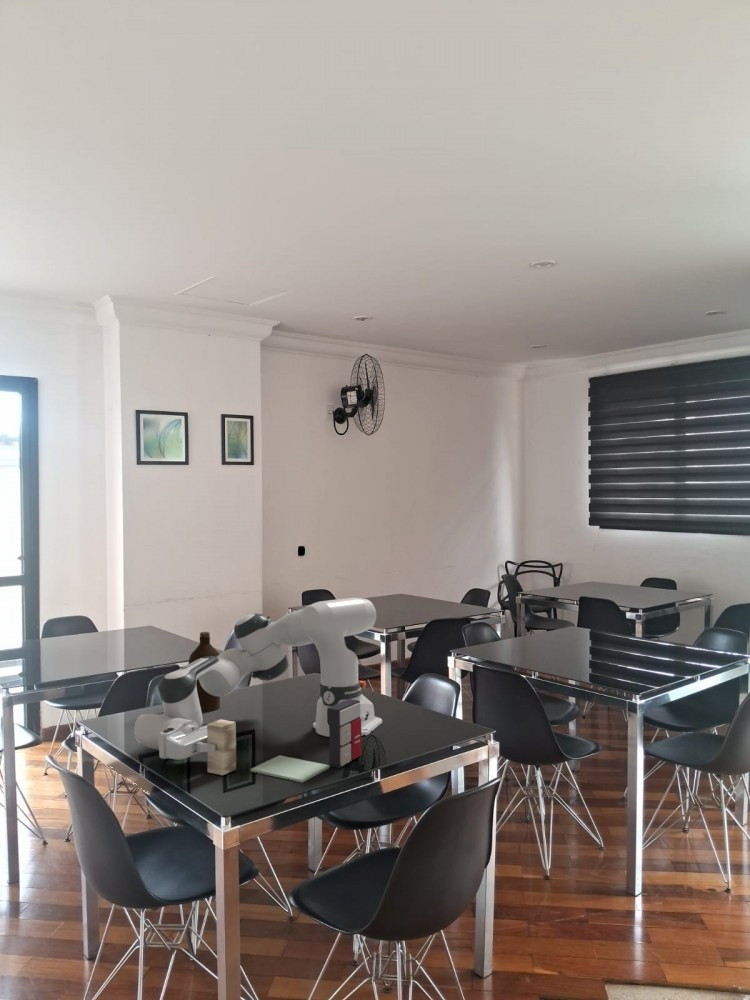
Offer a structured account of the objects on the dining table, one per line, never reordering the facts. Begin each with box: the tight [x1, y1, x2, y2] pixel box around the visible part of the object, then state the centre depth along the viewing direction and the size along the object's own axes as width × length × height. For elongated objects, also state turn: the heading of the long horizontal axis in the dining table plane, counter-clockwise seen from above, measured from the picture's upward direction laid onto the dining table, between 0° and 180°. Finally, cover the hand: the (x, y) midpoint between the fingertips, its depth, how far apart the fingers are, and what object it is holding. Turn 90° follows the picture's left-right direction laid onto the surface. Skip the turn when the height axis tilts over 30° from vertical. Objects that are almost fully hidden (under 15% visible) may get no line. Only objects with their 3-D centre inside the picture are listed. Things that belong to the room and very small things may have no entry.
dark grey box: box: [327, 699, 362, 769], centre depth 204 cm, size 11×4×15 cm, turn 151°
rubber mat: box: [250, 754, 331, 783], centre depth 199 cm, size 12×16×1 cm
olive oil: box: [188, 631, 221, 713], centre depth 258 cm, size 11×11×25 cm
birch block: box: [206, 719, 237, 776], centre depth 197 cm, size 5×5×12 cm
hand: (224, 744), depth 196 cm, fingers closed on birch block, 5 cm apart
